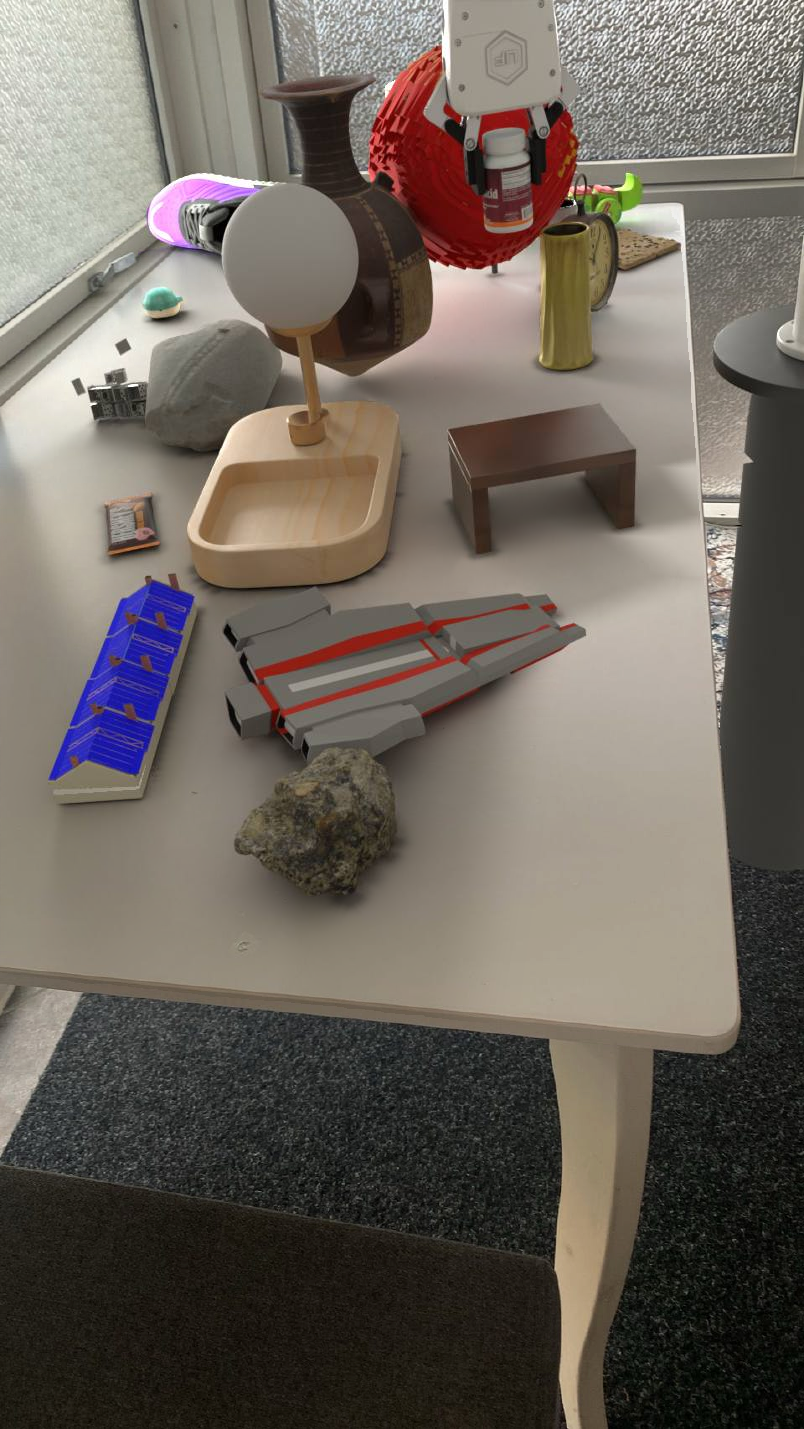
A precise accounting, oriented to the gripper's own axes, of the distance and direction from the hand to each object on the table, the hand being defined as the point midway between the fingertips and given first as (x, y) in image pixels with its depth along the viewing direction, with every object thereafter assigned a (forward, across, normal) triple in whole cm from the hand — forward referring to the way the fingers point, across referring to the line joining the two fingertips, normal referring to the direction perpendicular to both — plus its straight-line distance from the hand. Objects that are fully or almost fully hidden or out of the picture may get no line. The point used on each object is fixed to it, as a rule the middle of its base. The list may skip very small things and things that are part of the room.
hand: (506, 185), depth 107 cm
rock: (+19, -29, -68) cm, 77 cm away
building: (+21, -40, -43) cm, 62 cm away
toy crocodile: (+22, +22, +57) cm, 65 cm away
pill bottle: (+4, 0, 0) cm, 4 cm away
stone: (+16, -40, +12) cm, 45 cm away
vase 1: (+21, -16, +14) cm, 30 cm away
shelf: (+21, -4, -26) cm, 34 cm away
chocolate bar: (+21, -41, -15) cm, 49 cm away
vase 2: (+22, +7, +8) cm, 24 cm away
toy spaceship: (+17, -19, -47) cm, 53 cm away
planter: (+22, +13, +33) cm, 41 cm away
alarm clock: (+21, +13, +20) cm, 32 cm away
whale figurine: (+21, -39, +48) cm, 65 cm away
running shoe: (+16, -26, +78) cm, 84 cm away
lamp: (+21, -24, -15) cm, 35 cm away
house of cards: (+16, -44, +12) cm, 48 cm away
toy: (+6, +2, +39) cm, 40 cm away
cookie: (+22, +25, +43) cm, 54 cm away
